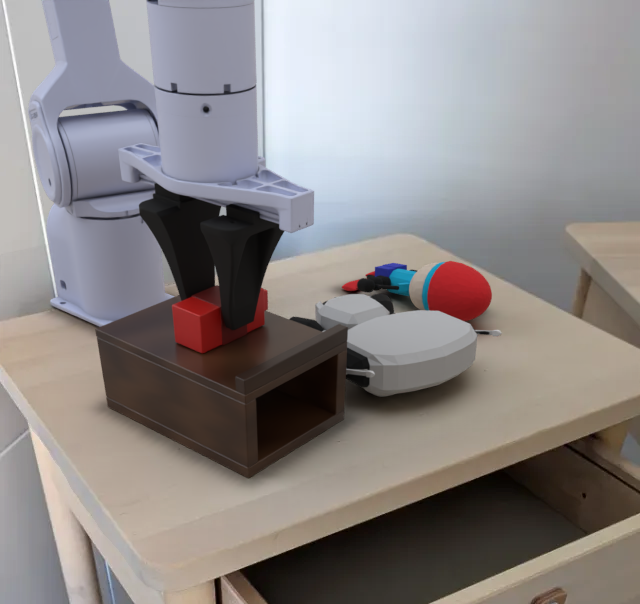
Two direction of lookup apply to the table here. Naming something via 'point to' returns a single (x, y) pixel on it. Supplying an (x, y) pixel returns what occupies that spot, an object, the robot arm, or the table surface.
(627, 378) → the table surface
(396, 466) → the table surface
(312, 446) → the table surface
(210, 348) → the red block
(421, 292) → the toy figure
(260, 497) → the table surface
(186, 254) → the robot arm
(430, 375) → the robot toy
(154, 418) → the shelf
